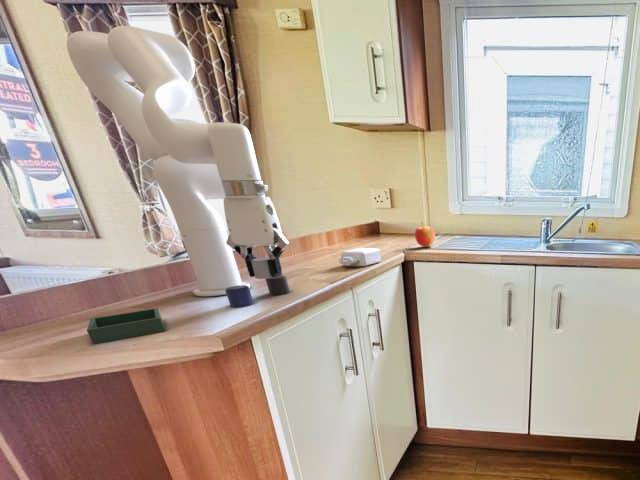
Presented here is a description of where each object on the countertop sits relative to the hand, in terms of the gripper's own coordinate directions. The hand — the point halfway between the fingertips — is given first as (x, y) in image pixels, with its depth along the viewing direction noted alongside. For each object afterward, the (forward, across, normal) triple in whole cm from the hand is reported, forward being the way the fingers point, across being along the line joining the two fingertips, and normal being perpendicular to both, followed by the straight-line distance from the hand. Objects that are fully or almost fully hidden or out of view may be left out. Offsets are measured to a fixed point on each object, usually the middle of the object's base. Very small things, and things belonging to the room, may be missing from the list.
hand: (266, 274), depth 99 cm
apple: (+7, -13, -88) cm, 89 cm away
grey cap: (0, 0, 0) cm, 0 cm away
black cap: (+6, +2, -6) cm, 8 cm away
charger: (+6, -2, -44) cm, 45 cm away
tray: (+6, +13, +24) cm, 28 cm away
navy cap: (+6, +4, +6) cm, 9 cm away
